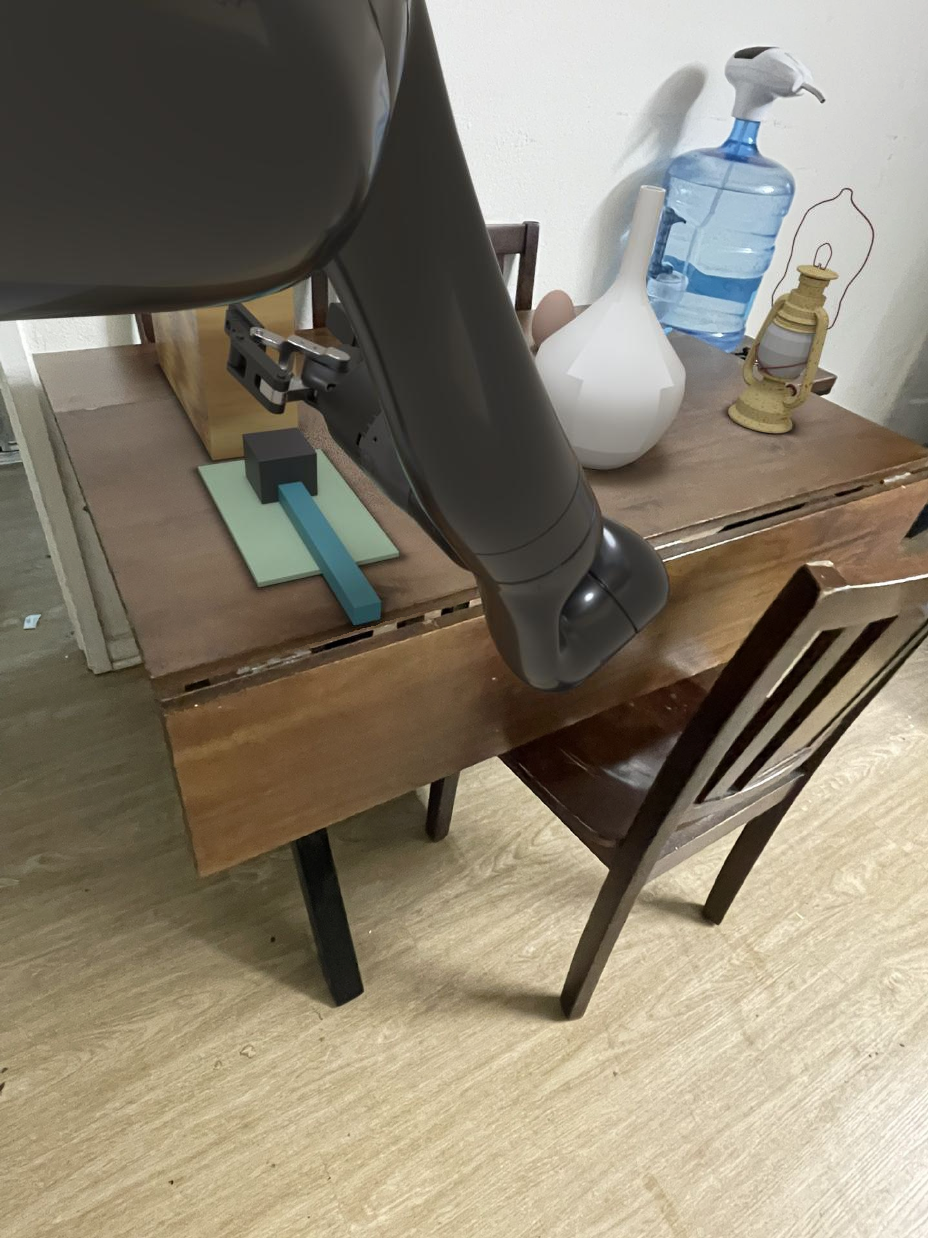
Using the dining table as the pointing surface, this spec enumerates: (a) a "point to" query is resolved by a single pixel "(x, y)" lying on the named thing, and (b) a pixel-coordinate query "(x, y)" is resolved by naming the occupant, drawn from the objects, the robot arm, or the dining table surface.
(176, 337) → the stand
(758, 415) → the lantern
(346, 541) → the mat
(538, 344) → the egg
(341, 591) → the hammer
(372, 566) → the dining table surface
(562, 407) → the vase
